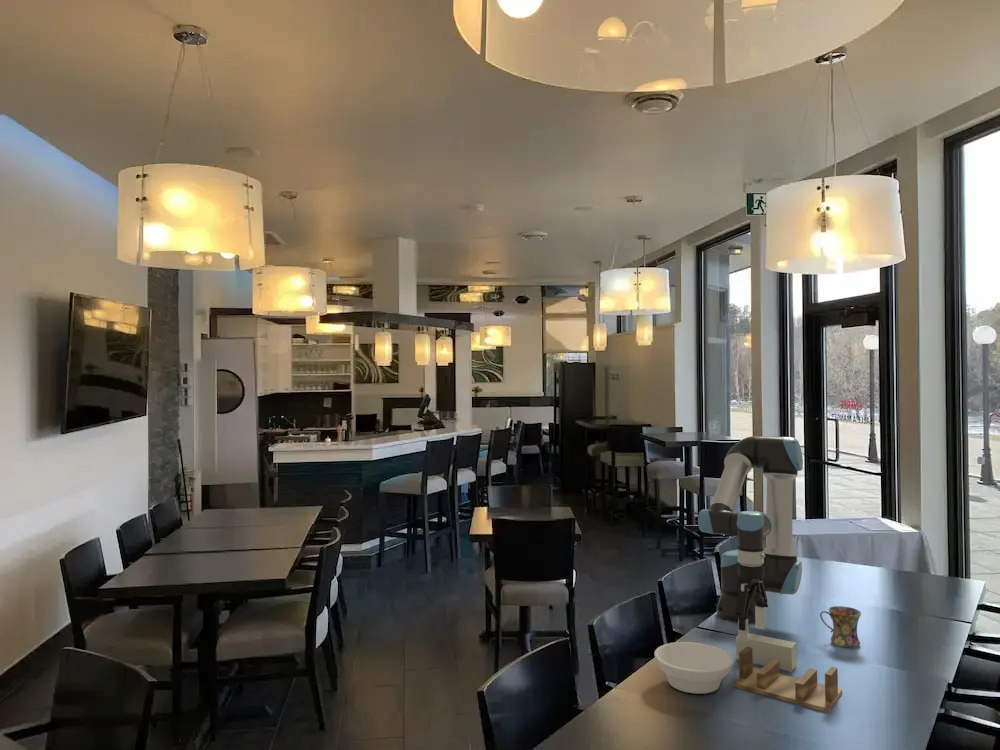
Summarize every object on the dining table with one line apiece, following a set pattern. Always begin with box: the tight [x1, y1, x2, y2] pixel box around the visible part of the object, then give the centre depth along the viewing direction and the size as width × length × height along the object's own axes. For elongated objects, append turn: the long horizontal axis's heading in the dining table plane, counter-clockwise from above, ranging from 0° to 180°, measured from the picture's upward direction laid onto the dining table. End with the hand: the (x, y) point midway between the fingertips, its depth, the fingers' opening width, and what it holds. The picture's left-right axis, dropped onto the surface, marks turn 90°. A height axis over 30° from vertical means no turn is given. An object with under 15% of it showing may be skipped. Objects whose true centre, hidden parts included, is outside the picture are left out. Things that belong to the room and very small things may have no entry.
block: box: [735, 632, 798, 673], centre depth 205 cm, size 16×5×7 cm, turn 53°
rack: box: [733, 647, 843, 713], centre depth 186 cm, size 24×14×8 cm, turn 49°
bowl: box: [654, 641, 734, 695], centre depth 190 cm, size 21×21×8 cm
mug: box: [819, 605, 862, 648], centre depth 219 cm, size 12×9×11 cm
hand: (752, 634), depth 207 cm, fingers open, 13 cm apart
